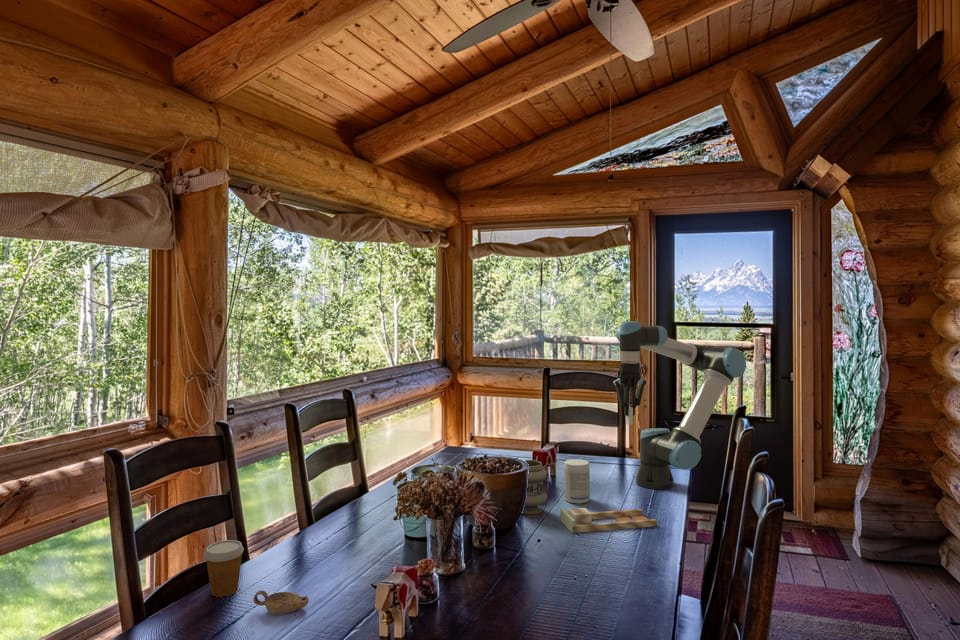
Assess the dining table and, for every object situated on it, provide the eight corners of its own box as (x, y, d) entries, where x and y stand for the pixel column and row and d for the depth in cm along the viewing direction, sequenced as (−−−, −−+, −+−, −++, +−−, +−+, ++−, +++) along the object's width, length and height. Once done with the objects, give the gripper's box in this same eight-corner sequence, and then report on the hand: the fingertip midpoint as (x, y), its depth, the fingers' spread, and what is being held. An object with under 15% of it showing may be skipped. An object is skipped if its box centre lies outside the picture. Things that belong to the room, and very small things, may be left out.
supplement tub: (594, 500, 230) (594, 462, 229) (579, 506, 223) (579, 466, 223) (574, 494, 237) (574, 457, 236) (558, 500, 230) (559, 461, 230)
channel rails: (641, 514, 214) (641, 508, 214) (656, 526, 203) (656, 520, 203) (560, 520, 208) (561, 514, 208) (572, 532, 197) (572, 526, 197)
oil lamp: (312, 603, 151) (312, 583, 151) (303, 619, 144) (303, 598, 144) (260, 603, 151) (260, 583, 151) (248, 618, 144) (248, 598, 144)
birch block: (585, 522, 207) (585, 507, 207) (591, 528, 201) (591, 513, 201) (568, 523, 206) (568, 508, 206) (574, 529, 200) (574, 515, 200)
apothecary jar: (508, 514, 214) (508, 464, 214) (521, 504, 225) (521, 456, 224) (539, 520, 209) (539, 468, 208) (552, 509, 219) (552, 460, 219)
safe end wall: (563, 520, 209) (563, 508, 208) (575, 532, 197) (575, 520, 197) (560, 520, 208) (560, 509, 208) (571, 532, 197) (571, 520, 197)
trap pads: (642, 515, 213) (642, 515, 213) (654, 524, 204) (654, 523, 204) (614, 518, 211) (614, 517, 211) (624, 526, 202) (624, 526, 202)
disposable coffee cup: (232, 580, 164) (232, 536, 163) (251, 590, 158) (250, 545, 157) (197, 593, 156) (197, 547, 156) (215, 604, 150) (215, 557, 150)
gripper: (641, 360, 232) (640, 421, 233) (609, 361, 229) (609, 423, 230) (650, 362, 225) (650, 425, 225) (617, 363, 222) (617, 427, 223)
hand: (629, 424), depth 228 cm, fingers closed
